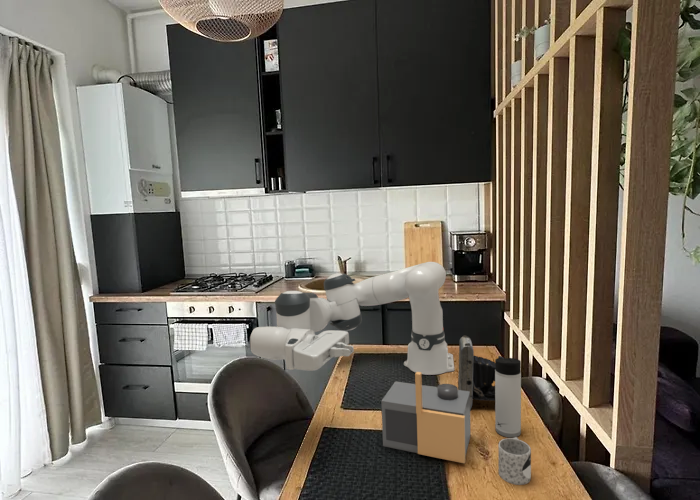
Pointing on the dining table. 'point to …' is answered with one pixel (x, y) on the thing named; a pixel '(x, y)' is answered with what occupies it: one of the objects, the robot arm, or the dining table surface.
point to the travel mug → (508, 397)
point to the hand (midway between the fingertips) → (351, 351)
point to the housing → (403, 416)
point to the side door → (439, 430)
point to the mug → (514, 461)
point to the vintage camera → (475, 373)
